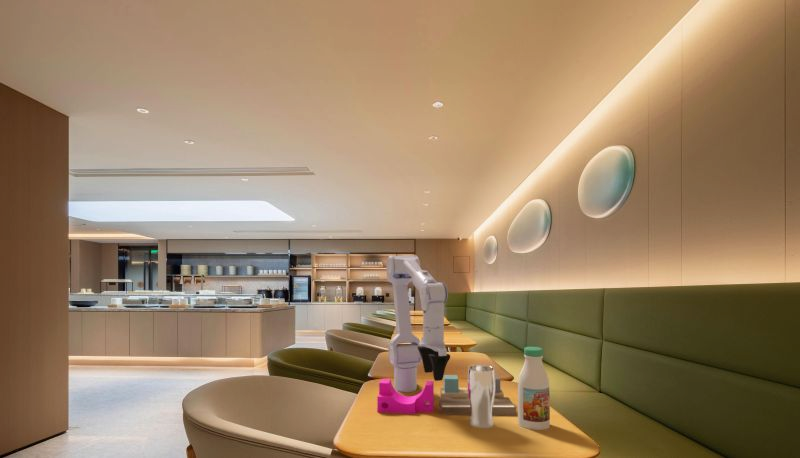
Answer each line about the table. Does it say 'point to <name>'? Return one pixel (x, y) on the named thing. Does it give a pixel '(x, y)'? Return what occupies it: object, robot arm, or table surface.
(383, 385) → the pink pipe cradle
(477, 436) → the table surface
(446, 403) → the dock
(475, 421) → the silver metal tumbler
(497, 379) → the grey cube
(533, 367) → the milk bottle
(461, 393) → the tan tray
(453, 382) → the teal cube
